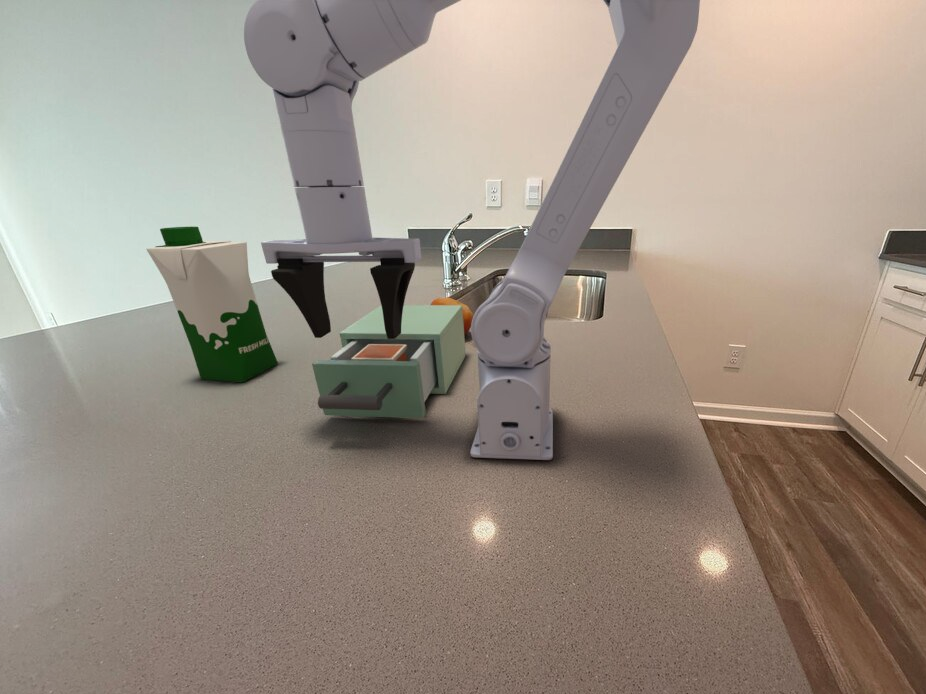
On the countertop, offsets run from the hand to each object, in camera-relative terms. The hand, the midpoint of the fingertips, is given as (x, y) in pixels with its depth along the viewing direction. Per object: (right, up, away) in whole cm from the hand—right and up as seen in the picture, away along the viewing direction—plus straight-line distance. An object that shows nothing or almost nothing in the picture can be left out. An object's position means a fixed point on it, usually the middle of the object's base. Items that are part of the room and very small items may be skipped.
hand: (358, 335), depth 41 cm
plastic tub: (+1, -6, +8) cm, 9 cm away
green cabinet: (+1, -3, +17) cm, 18 cm away
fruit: (+5, +3, +32) cm, 32 cm away
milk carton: (-25, -3, +19) cm, 31 cm away
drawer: (0, -7, +7) cm, 10 cm away
